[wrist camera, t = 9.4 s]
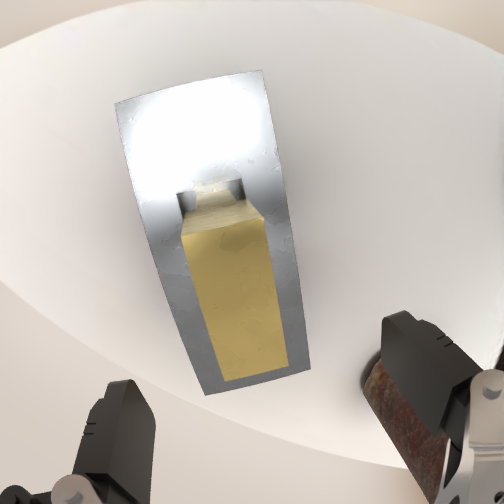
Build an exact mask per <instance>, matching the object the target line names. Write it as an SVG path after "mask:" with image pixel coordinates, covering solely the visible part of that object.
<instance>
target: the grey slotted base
mask: <svg viewBox="0 0 504 504" xmlns="http://www.w3.org/2000/svg"><path fill="white" fill-rule="evenodd" d="M115 110H116V115H117V120H118V125H119V130H120V134H121V139H122V143H123V148H124V152H125V157H126V161H127V165H128V169H129V173H130V177H131V181H132V185H133V189H134V193H135V196H136V200H137V204H138V208H139V211H140V215H141V218H142V222H143V225H144V229H145V232H146V235H147V239H148V242H149V245H150V249H151V252H152V255H153V258H154V261H155V264H156V268H157V271H158V274H159V277H160V280H161V283H162V286H163V289H164V291H165V294H166V297H167V300H168V303H169V306H170V309H171V311H172V314H173V317H174V320H175V322H176V325H177V328H178V330H179V333H180V336H181V338H182V341H183V343H184V346H185V348H186V351H187V353H188V356H189V358H190V361H191V363H192V366H193V368H194V371H195V373H196V376H197V378H198V380H199V383H200V385H201V387H202V390H203V392H204V394H205V396H206V395H211V394H216V393H221V392H225V391H230V390H234V389H239V388H243V387H247V386H251V385H255V384H259V383H263V382H267V381H271V380H275V379H278V378H282V377H286V376H289V375H293V374H296V373H300V372H303V371H306V370H310V369H311V367H310V358H309V350H308V342H307V334H306V326H305V318H304V311H303V303H302V296H301V289H300V282H299V275H298V268H297V262H296V255H295V249H294V242H293V236H292V230H291V223H290V217H289V211H288V205H287V199H286V194H285V188H284V182H283V177H282V171H281V166H280V160H279V155H278V149H277V144H276V139H275V134H274V129H273V124H272V119H271V114H270V109H269V104H268V99H267V94H266V89H265V85H264V80H263V75H262V71H261V70H258V71H251V72H244V73H238V74H232V75H226V76H220V77H215V78H210V79H205V80H200V81H195V82H191V83H187V84H182V85H178V86H174V87H170V88H166V89H162V90H158V91H155V92H151V93H148V94H144V95H141V96H137V97H134V98H131V99H128V100H125V101H121V102H118V103H115ZM224 189H229V190H230V192H231V193H232V195H233V196H234V198H235V199H236V201H239V200H244V199H247V200H248V201H249V202H250V203H251V204H252V205H253V206H254V208H255V209H256V210H257V211H258V212H259V213H260V214H261V216H262V217H263V219H264V225H265V230H266V236H267V241H268V247H269V253H270V258H271V264H272V270H273V275H274V281H275V287H276V293H277V299H278V305H279V310H280V316H281V322H282V328H283V334H284V340H285V346H286V352H287V359H288V365H289V366H286V367H283V368H279V369H275V370H271V371H268V372H264V373H260V374H256V375H251V376H247V377H243V378H239V379H234V380H230V381H224V378H223V375H222V372H221V369H220V366H219V363H218V360H217V357H216V354H215V351H214V348H213V345H212V342H211V339H210V336H209V332H208V329H207V326H206V323H205V320H204V316H203V313H202V310H201V307H200V303H199V300H198V297H197V293H196V290H195V286H194V283H193V280H192V276H191V273H190V269H189V265H188V262H187V258H186V255H185V251H184V247H183V244H182V240H181V232H182V227H183V222H184V217H185V213H187V212H191V211H195V210H196V196H197V195H202V194H206V193H210V192H215V191H219V190H224Z"/></svg>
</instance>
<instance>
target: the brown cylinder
mask: <svg viewBox="0 0 504 504" xmlns="http://www.w3.org/2000/svg"><path fill="white" fill-rule="evenodd" d="M363 394H364V396H365V398H366V399H367V401H368V403H369V404H370V406H371V408H372V410H373V411H374V413H375V415H376V416H377V418H378V419H379V421H380V422H381V424H382V426H383V428H384V429H385V431H386V432H387V434H388V436H389V437H390V439H391V440H392V442H393V444H394V445H395V447H396V448H397V450H398V452H399V453H400V455H401V457H402V458H403V460H404V462H405V463H406V465H407V467H408V468H409V470H410V472H411V473H412V475H413V476H414V478H415V480H416V481H417V483H418V485H419V486H420V488H421V490H422V491H423V493H424V495H425V497H426V499H427V500H428V502H429V504H434V503H435V501H436V498H437V495H438V492H439V488H440V483H441V478H442V473H443V468H444V462H445V456H446V449H447V442H448V439H449V437H448V435H447V434H446V432H445V433H443V434H441V435H440V436H438V437H436V438H433V437H432V435H431V434H430V432H429V431H428V429H427V428H426V427H425V425H424V424H423V422H422V421H421V419H420V418H419V417H418V415H417V414H416V412H415V411H414V410H413V408H412V407H411V405H410V404H409V403H408V401H407V400H406V398H405V397H404V396H403V394H402V393H401V391H400V390H399V389H398V387H397V386H396V384H395V383H394V382H393V380H392V379H391V378H390V376H389V375H388V373H387V372H386V371H385V369H384V367H383V364H382V360H381V358H380V359H379V361H378V362H377V363H376V364H375V365H374V367H373V369H372V371H371V374H370V376H369V377H368V379H367V381H366V383H365V385H364V388H363Z"/></svg>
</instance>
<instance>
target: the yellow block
mask: <svg viewBox="0 0 504 504" xmlns="http://www.w3.org/2000/svg"><path fill="white" fill-rule="evenodd" d="M181 240H182V244H183V247H184V251H185V255H186V258H187V262H188V265H189V269H190V273H191V276H192V280H193V283H194V286H195V290H196V293H197V297H198V300H199V303H200V307H201V310H202V313H203V316H204V320H205V323H206V326H207V329H208V332H209V336H210V339H211V342H212V345H213V348H214V351H215V354H216V357H217V360H218V363H219V366H220V369H221V372H222V375H223V378H224V381H230V380H234V379H239V378H243V377H247V376H251V375H256V374H260V373H264V372H268V371H271V370H275V369H279V368H283V367H286V366H289V365H288V359H287V352H286V346H285V340H284V334H283V328H282V322H281V316H280V310H279V305H278V299H277V293H276V287H275V281H274V275H273V270H272V264H271V258H270V253H269V247H268V241H267V236H266V230H265V225H264V219H263V217H262V216H261V214H260V213H259V212H258V211H257V210H256V209H255V208H254V206H253V205H252V204H251V203H250V202H249V201H248V200H247V199H244V200H239V201H236V199H235V198H234V196H233V195H232V193H231V192H230V190H229V189H224V190H219V191H215V192H210V193H206V194H202V195H197V196H196V210H195V211H191V212H187V213H185V217H184V222H183V227H182V232H181Z"/></svg>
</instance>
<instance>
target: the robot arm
mask: <svg viewBox="0 0 504 504" xmlns="http://www.w3.org/2000/svg"><path fill="white" fill-rule="evenodd" d="M381 360H382V364H383V367H384V369H385V371H386V372H387V373H388V375H389V376H390V378H391V379H392V380H393V382H394V383H395V384H396V386H397V387H398V389H399V390H400V391H401V393H402V394H403V396H404V397H405V398H406V400H407V401H408V403H409V404H410V405H411V407H412V408H413V410H414V411H415V412H416V414H417V415H418V417H419V418H420V419H421V421H422V422H423V424H424V425H425V427H426V428H427V429H428V431H429V432H430V434H431V435H432V437H433V438H436V437H438V436H440V435H441V434H443V433H445V432H446V434H447V435H448V437H449V439H448V442H447V449H446V456H445V462H444V468H443V473H442V478H441V483H440V488H439V492H438V495H437V498H436V501H435V503H434V504H504V372H502V371H500V370H494V369H490V370H483V369H481V368H480V367H479V366H478V365H477V364H476V363H475V362H474V361H473V360H472V359H471V358H470V357H469V356H468V355H467V354H466V353H465V352H464V351H463V350H462V349H461V348H460V347H459V346H457V345H456V344H454V343H453V341H452V340H451V339H450V338H449V337H448V336H446V335H445V333H443V332H442V331H441V330H440V329H439V328H438V327H437V326H436V325H434V324H431V323H429V322H427V321H424V320H420V321H417V320H416V319H415V318H414V317H413V316H412V315H411V314H410V313H409V312H407V311H405V310H403V311H400V312H398V313H395V314H392V315H390V316H387V317H384V318H383V320H382V334H381ZM86 423H87V425H86V426H85V429H84V432H83V433H84V436H82V439H81V443H80V446H79V450H78V453H77V457H76V461H75V464H74V468H73V472H72V474H71V475H67V476H65V477H63V478H61V479H60V480H59V481H57V482H56V484H55V485H54V487H53V489H52V491H50V492H45V493H40V494H34V495H31V494H30V493H29V492H28V491H27V490H25V489H24V488H23V487H21V486H18V485H12V486H9V487H7V488H6V489H5V490H4V491H3V492H2V493H1V495H0V504H150V491H151V490H150V489H151V475H152V462H153V450H154V439H155V430H156V424H155V418H154V415H153V412H152V410H151V408H150V407H149V405H148V403H147V402H146V400H145V398H144V397H143V395H142V393H141V392H140V390H139V388H138V386H137V385H136V383H135V382H134V381H133V380H131V379H129V380H122V381H114V382H110V383H109V384H108V386H107V389H106V392H105V396H104V398H102V399H99V400H98V401H97V402H96V404H95V405H94V406H93V407H92V409H91V410H90V413H89V416H88V419H87V422H86Z"/></svg>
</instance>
